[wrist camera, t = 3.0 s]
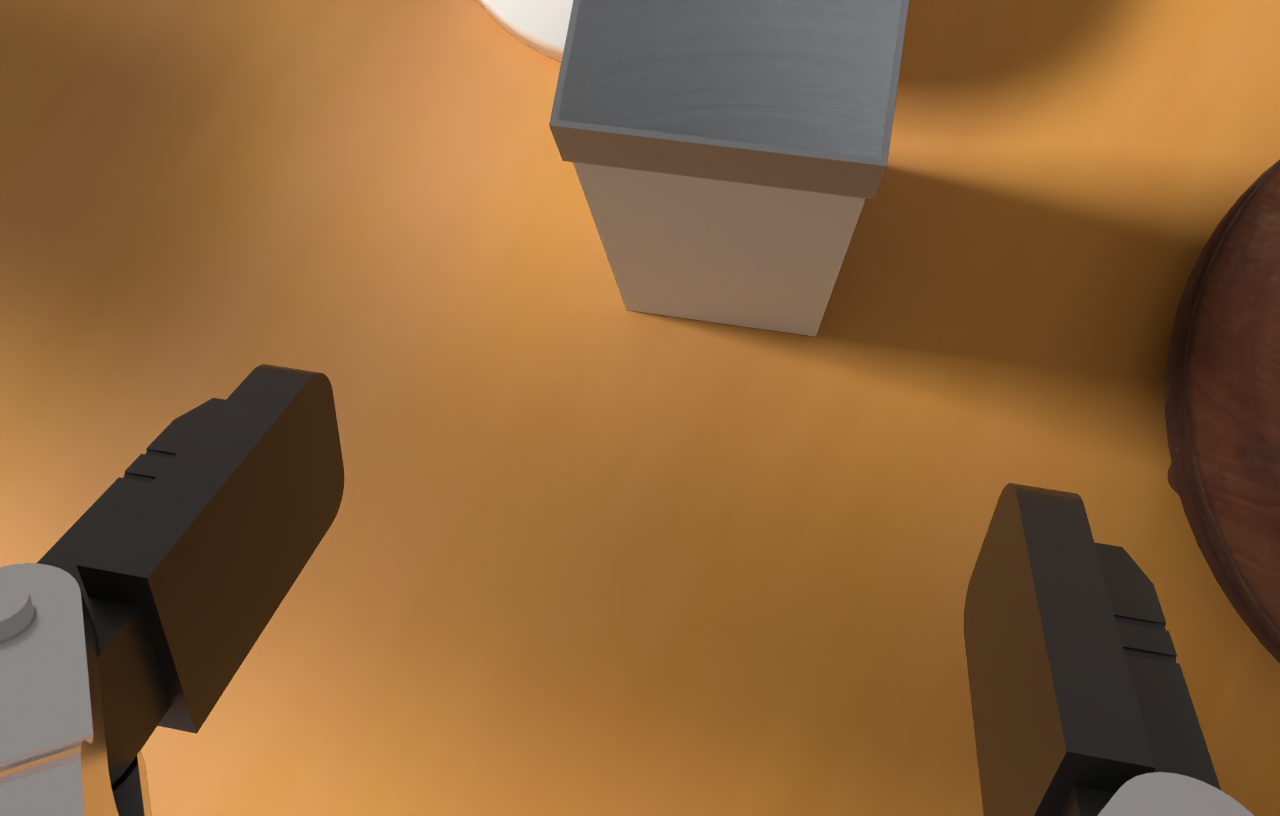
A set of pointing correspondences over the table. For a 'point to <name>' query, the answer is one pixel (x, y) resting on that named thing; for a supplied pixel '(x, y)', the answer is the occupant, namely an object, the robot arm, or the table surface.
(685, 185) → the grey-topped square post
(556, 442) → the table surface
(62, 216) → the table surface
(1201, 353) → the scroll
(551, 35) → the white round piece
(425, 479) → the table surface
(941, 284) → the table surface
